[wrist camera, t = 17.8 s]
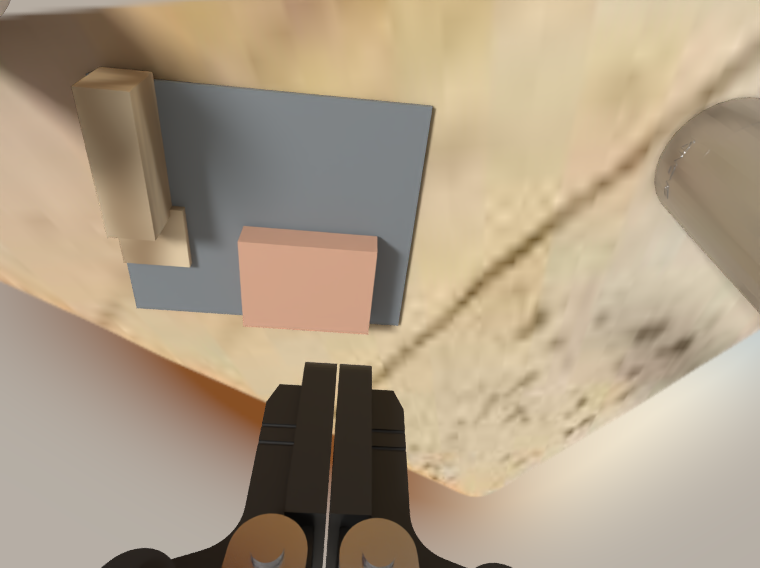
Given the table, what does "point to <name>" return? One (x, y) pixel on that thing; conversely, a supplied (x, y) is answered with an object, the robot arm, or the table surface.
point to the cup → (3, 6)
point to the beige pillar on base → (131, 166)
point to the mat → (283, 184)
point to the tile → (306, 279)
